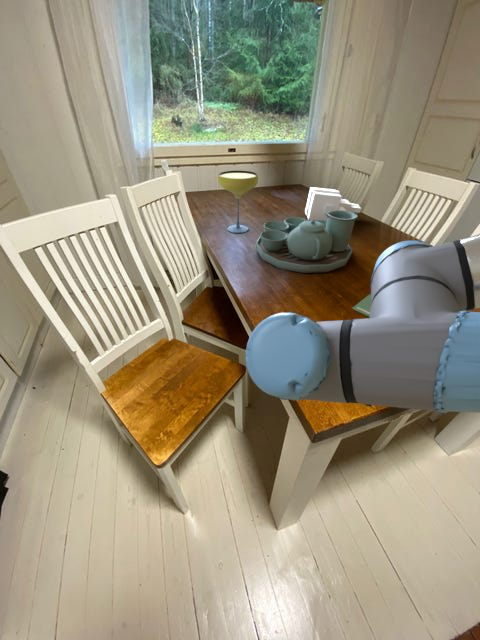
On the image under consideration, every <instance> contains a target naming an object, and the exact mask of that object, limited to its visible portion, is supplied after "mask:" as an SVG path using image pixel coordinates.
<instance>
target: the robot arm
mask: <svg viewBox="0 0 480 640" xmlns="http://www.w3.org/2000/svg"><path fill="white" fill-rule="evenodd" d="M370 294H371V307H370V317H368V318H367V317H366V318H354V319H344V320H343V319H342V320H339V319H338V320H324V321H323V320H322V321H314V320H312V319H311V318H309V317H308V316H303V315H301V314H298V313H295V312H289V311H288V312H287V311H286V312H278V313H275V314H272V315H270V316H268V317H266V318H265V319H263V320H261V321H260V322H259V323H258V324H257V325H256V326H255V328H254V329H253V330H252V332H251V334H250V335H249V338H248V341H247V343H246V348H245V353H244V355H245V365H246V366H245V367H246V370H247V373H248V375H249V377H250V379H251V380H252V382H253V383H254V384H255V385H256V387H258V389H259V390H261V391H262V392H264V393H265V394H267V395H269V396H272V397H274V398H275V397H276V398H278V399H280V400H283V401H289V400H290V401H301V400H303V401H317V402H327V403H338V404H339V403H340V404H359V405H365V406H366V407H369V408H372V407H373V406H380V407H389V408H400V409H408V410H409V409H410V410H421V411H432V412H437V413H438V414H447V413H449V412H453V413H454V412H455V413H478V414H479V413H480V311H476V312H475V311H473V310H479V309H480V234H476V235H471V236H468V237H464V238H461V239H457V240H453V241H448V242H445V243H440V244H438V245H431V244H429V243H428V242H426V241H422V240H413V239H411V240H408V239H407V240H403V241H399V242H397V243H394V244H393V245H391V246H389V247H387V248H386V249H385V250H384V251H383V252H381V254H380V255H379V256H378V258H377V260H376V262H375V265H374V267H373V271H372V275H371V278H370ZM471 310H472V311H471Z"/></svg>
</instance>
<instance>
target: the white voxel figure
mask: <svg viewBox="0 0 480 640" xmlns="http://www.w3.org/2000/svg"><path fill="white" fill-rule="evenodd" d="M340 192H341V191H340V190H336V189H335V188H334V189H333V188H325V187H315V186H310V187H309V191H308V196H307V201H306V205H305V208H304V214H305V216H306V219H307V220H308V221H311V220H325V221H327V216H326V215H325V213H326V212H329V211H332V210H345V211H350V212H353V213H356V214H357V213H359V214H360V213H361V211H362V207H361V206H360V205H359V204H358V203H351V202H350V201H349V200H348V199H346V198H345V199H344V198H342V194H340Z"/></svg>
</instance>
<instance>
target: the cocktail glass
mask: <svg viewBox="0 0 480 640" xmlns="http://www.w3.org/2000/svg"><path fill="white" fill-rule="evenodd" d="M217 179H218V184H219V185H220V187H221V188H223V189H224V190H226V191H227V192H230V193H231V194H233V196H234V197H235V198H236V199H237V207H236V208H237V209H236V211H237V212H236V213H237V216H236V217H237V218H236V224H234V225H229V226H228V227H227V231H228V232H230V233H233V234H244V233H247V232H248V231H249V229H250V228H249V227H248V226H246V225H242V224H240V198H242V196H243V195H244V194H245V193H247V192H249V191H251V190H253V189H254V188H256V186H258V183H259V175H258V173H257V172H254V171H251V170H250V171H249V170H248V171H247V170H226V171H222V172H219V174H218V177H217Z"/></svg>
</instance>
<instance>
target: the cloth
mask: <svg viewBox="0 0 480 640" xmlns="http://www.w3.org/2000/svg"><path fill="white" fill-rule="evenodd" d="M370 307H371V293H369V294H368V295H367V296H365V297H364V298H363V299H362V300H360V301H359V302H358V303H357V304H355V305H354V306H352V307H351V310H354V311H356V312H358V313H360V314H362V315H363V316H366V317H368V318H370Z"/></svg>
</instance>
